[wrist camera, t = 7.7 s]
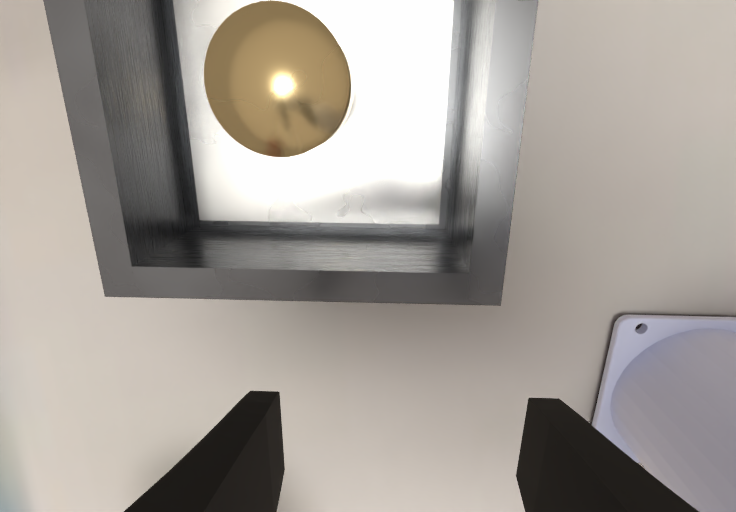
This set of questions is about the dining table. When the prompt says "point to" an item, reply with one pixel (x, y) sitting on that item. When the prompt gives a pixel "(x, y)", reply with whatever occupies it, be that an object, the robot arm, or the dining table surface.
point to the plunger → (316, 108)
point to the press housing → (283, 239)
